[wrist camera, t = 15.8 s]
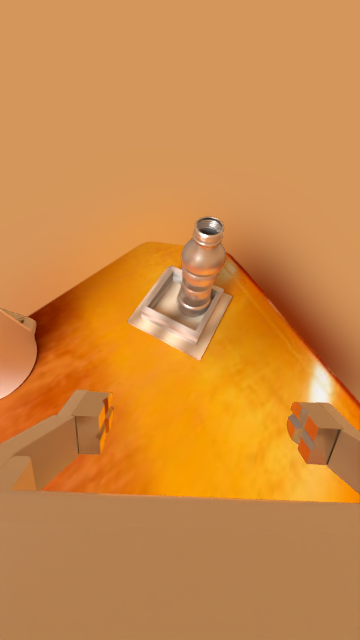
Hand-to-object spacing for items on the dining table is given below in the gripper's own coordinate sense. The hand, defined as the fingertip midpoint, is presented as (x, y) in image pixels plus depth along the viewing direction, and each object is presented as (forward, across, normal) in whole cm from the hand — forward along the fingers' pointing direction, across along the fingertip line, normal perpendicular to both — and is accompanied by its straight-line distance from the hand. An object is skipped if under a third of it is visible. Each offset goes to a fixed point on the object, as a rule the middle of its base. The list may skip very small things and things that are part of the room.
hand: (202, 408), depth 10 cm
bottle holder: (+36, 0, +5) cm, 36 cm away
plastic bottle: (+35, -2, +4) cm, 36 cm away
